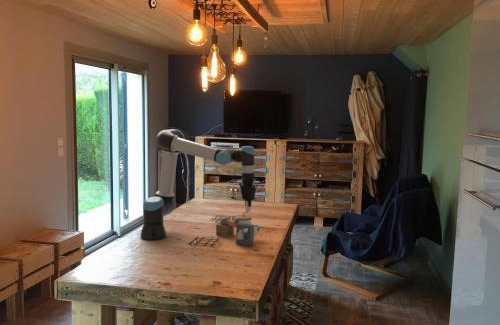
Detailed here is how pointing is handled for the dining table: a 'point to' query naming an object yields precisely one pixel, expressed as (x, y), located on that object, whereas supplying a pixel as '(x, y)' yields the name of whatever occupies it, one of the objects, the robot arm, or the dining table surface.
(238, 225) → the dark boxy piece
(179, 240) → the dining table surface
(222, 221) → the ball ended rod
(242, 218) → the lidded jar
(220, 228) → the tan square block
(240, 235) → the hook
